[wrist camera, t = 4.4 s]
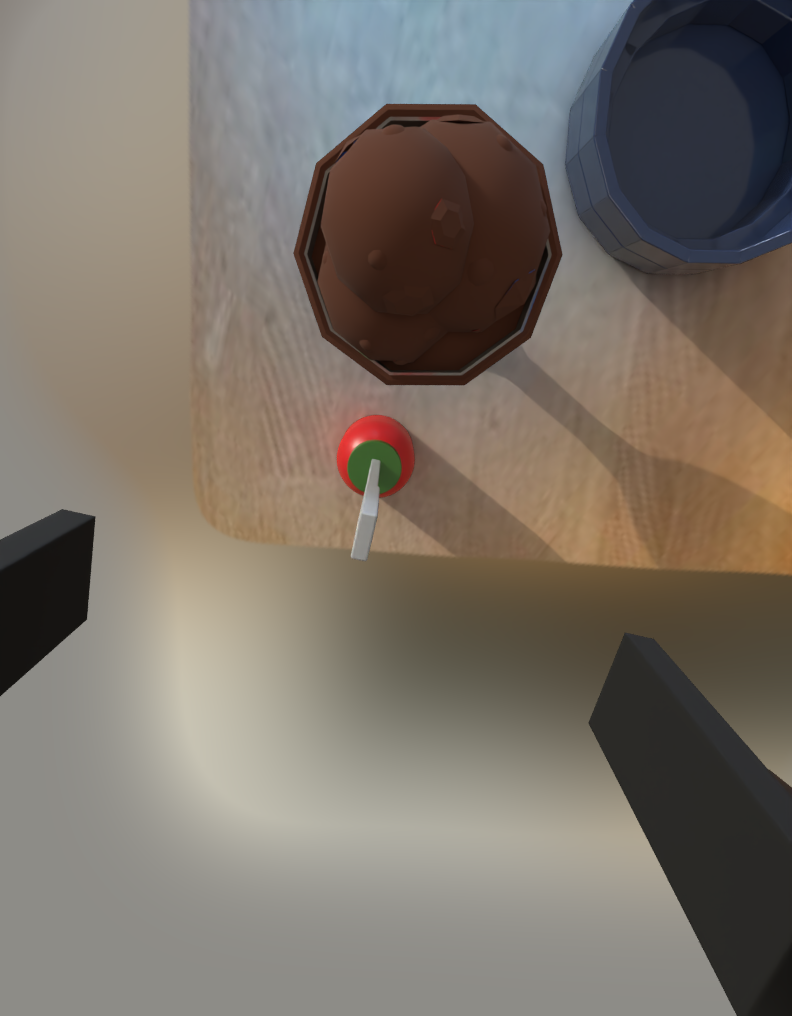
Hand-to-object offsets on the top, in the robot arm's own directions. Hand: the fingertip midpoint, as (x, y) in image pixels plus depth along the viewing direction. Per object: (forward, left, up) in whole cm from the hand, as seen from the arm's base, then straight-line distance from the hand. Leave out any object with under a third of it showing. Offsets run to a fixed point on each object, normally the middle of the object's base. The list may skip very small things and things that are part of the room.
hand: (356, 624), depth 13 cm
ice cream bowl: (-9, +6, -22) cm, 25 cm away
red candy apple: (0, 0, -22) cm, 22 cm away
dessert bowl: (-10, +22, -22) cm, 33 cm away
